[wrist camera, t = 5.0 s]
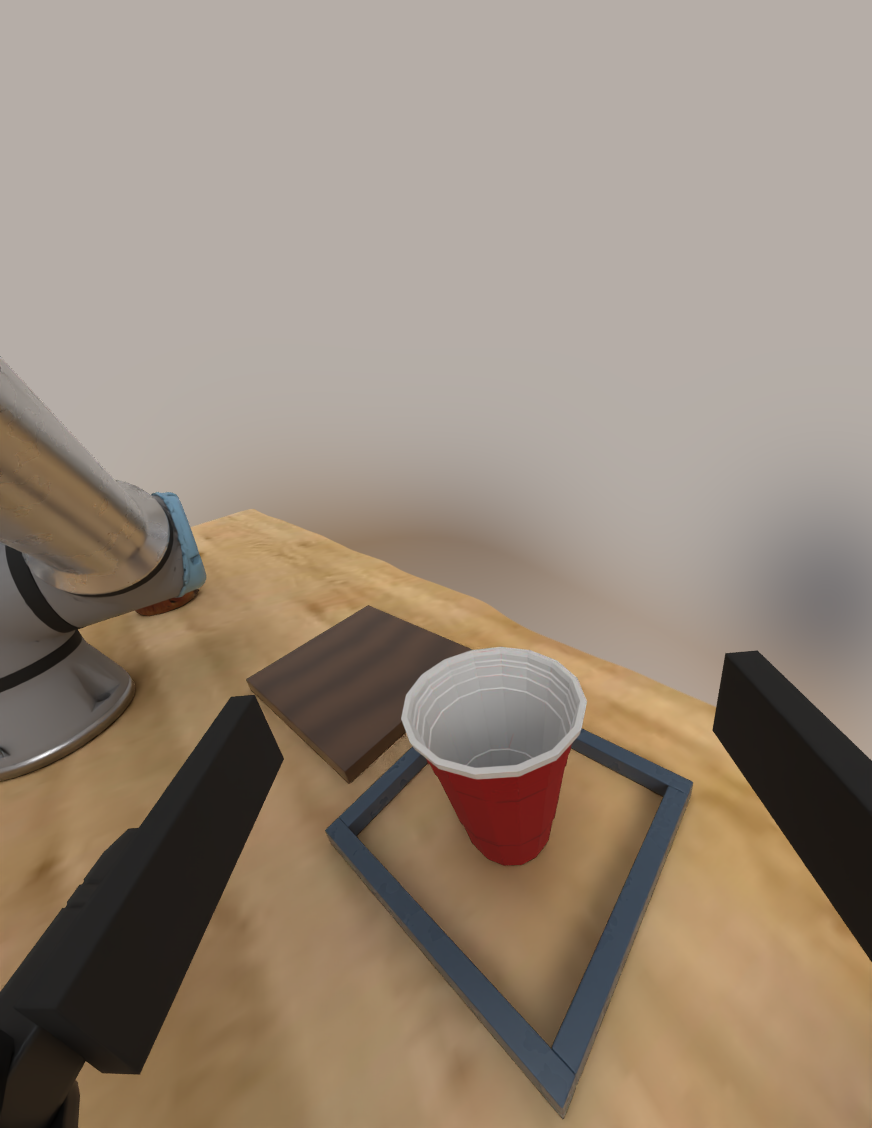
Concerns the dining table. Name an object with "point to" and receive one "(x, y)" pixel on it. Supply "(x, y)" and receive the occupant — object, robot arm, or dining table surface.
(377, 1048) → the dining table surface
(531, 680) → the plastic cup
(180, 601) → the bread roll
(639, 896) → the square frame
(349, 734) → the walnut board
